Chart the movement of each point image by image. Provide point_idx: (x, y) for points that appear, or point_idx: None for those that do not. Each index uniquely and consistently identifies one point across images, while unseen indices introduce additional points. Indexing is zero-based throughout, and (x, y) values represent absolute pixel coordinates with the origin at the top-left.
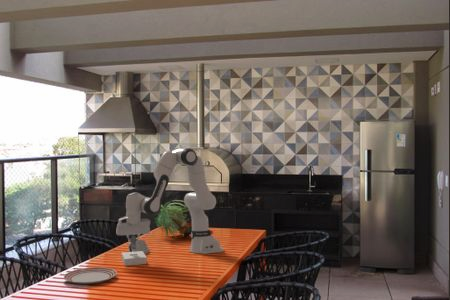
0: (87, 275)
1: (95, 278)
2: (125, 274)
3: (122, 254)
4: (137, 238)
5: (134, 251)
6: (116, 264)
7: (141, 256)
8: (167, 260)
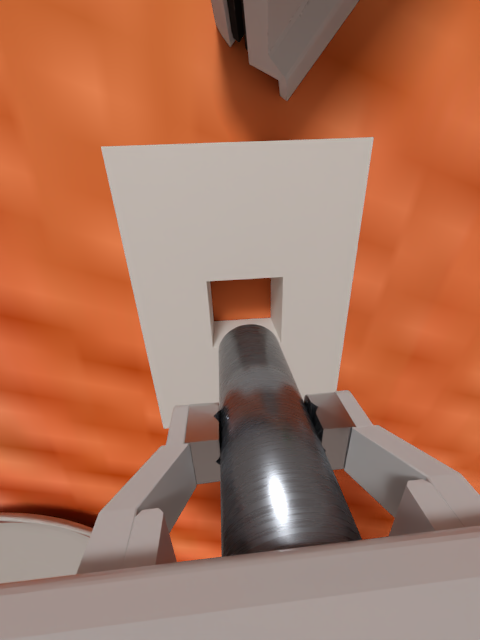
0: (1, 542)
1: (58, 565)
2: (184, 523)
3: (127, 263)
4: (352, 476)
5: (280, 15)
6: (109, 349)
7: (302, 385)
8: (473, 326)
